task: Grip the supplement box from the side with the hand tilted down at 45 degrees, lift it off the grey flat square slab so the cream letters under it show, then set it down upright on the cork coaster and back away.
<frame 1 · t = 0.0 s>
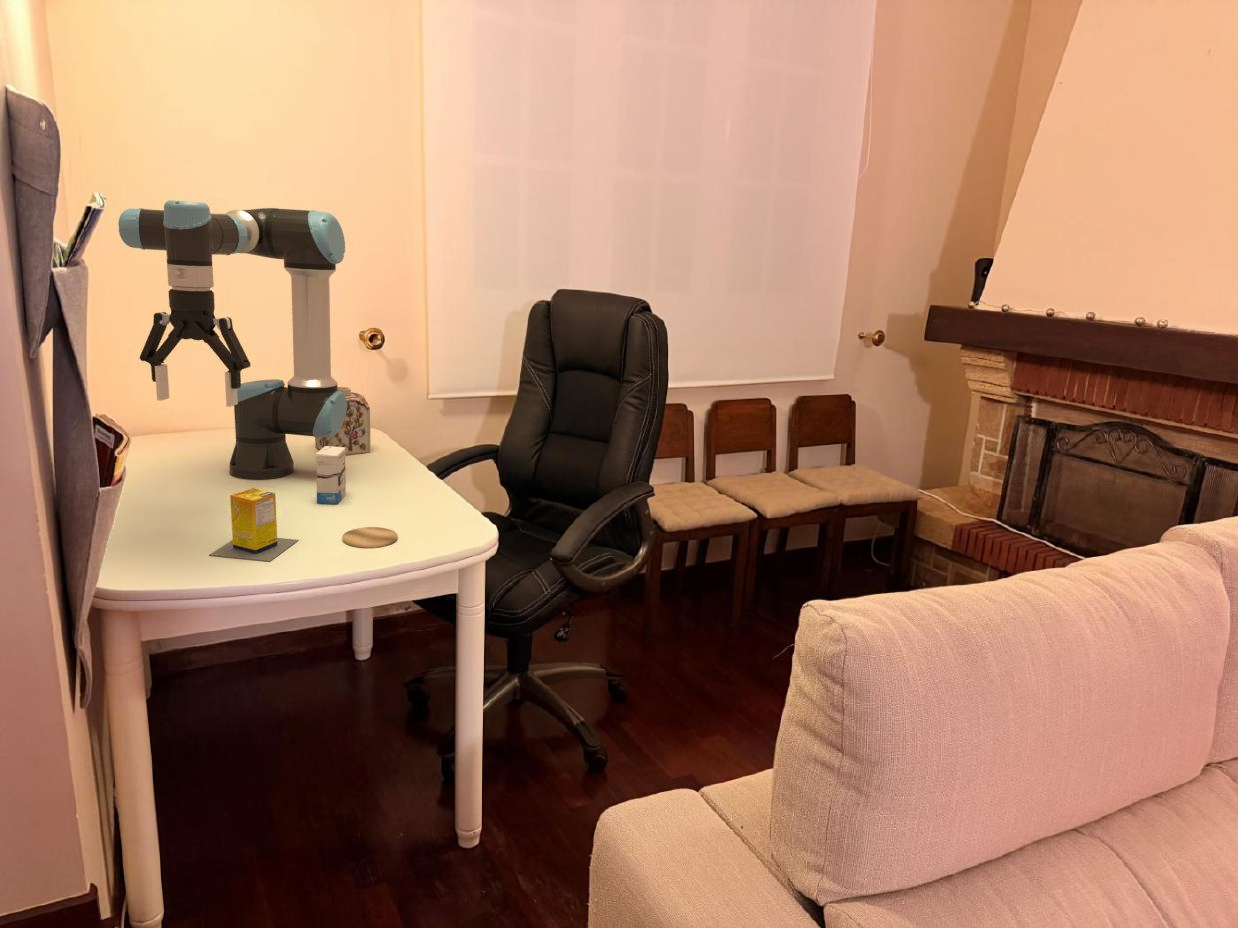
hand: (197, 402, 164), 28 cm above the table, tool pointing down, fingers open, 13 cm apart
supplement box: (255, 547, 169), resting on grey flat square slab
grey flat square slab: (255, 547, 169), on the table
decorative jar: (342, 451, 245), on the table
coaster: (370, 538, 179), on the table
ink box: (331, 499, 202), on the table
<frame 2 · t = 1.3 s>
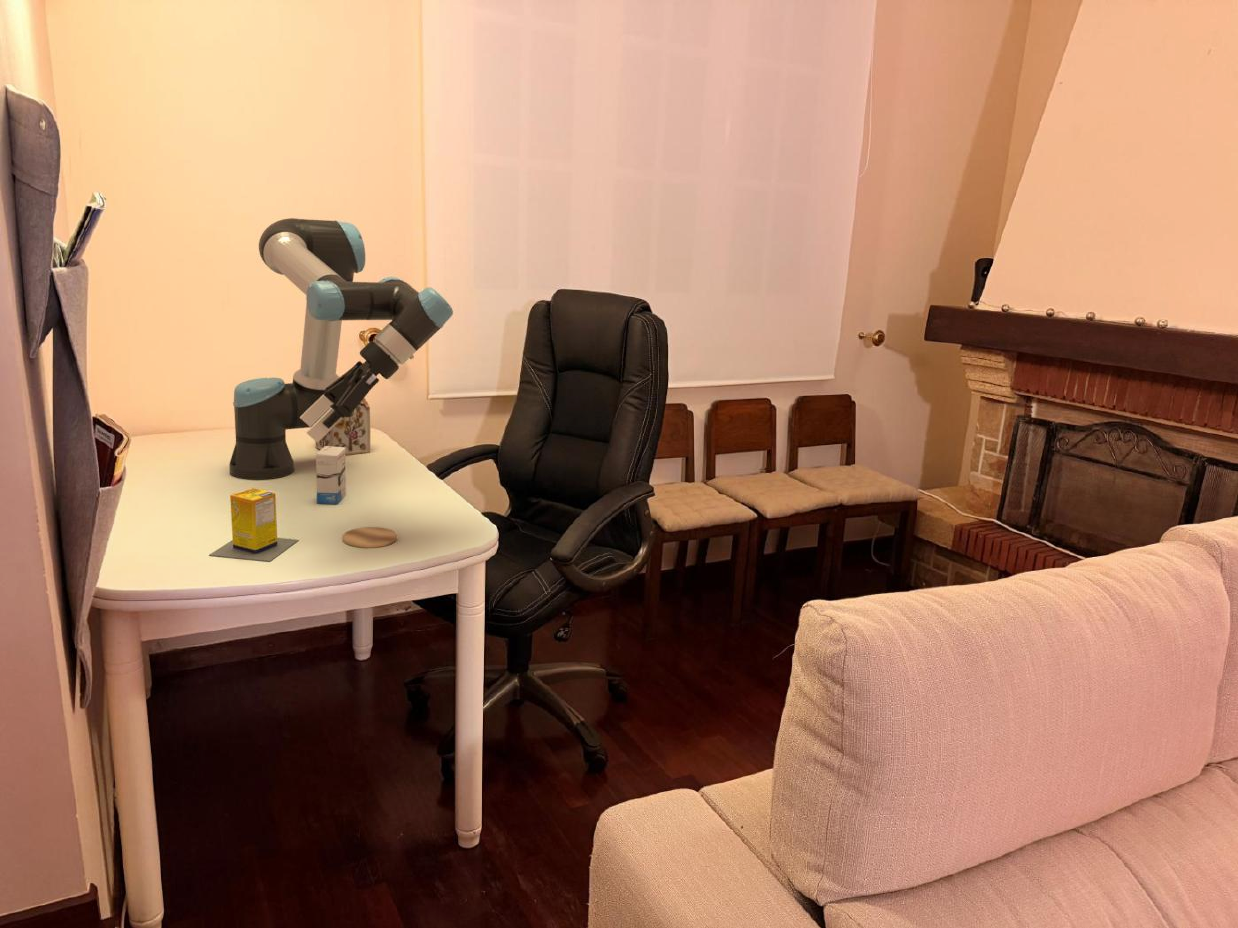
hand: (308, 429, 168), 24 cm above the table, tool tilted 45°, fingers open, 13 cm apart
nothing on the table moved.
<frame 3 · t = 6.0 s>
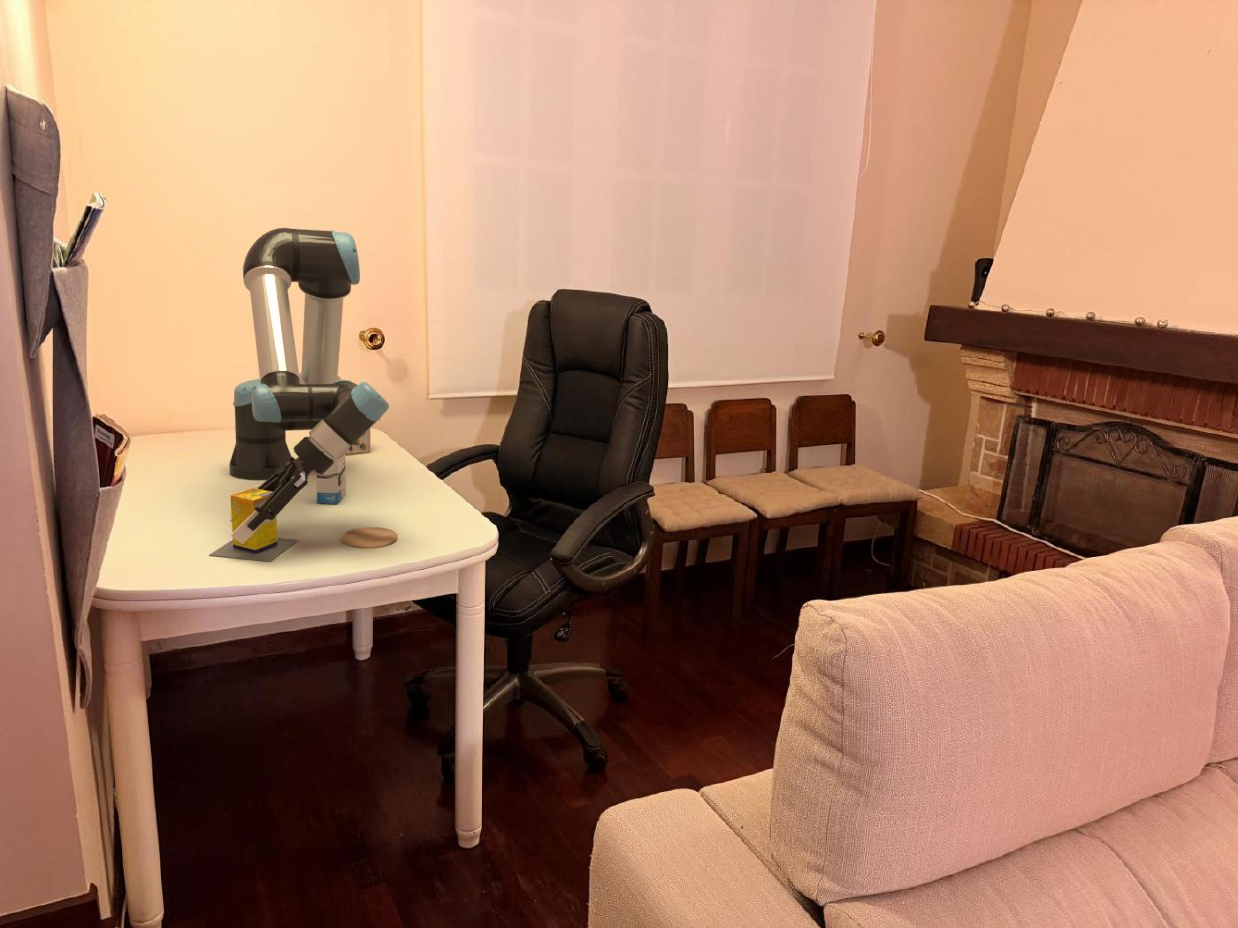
hand: (235, 531, 167), 4 cm above the table, tool tilted 45°, fingers closed on supplement box, 8 cm apart
supplement box: (255, 547, 169), resting on grey flat square slab, touching gripper
everything else where it was.
when the fingers open (5 cm above the table, at t = 12.5 s): supplement box stays where it is, resting on coaster.
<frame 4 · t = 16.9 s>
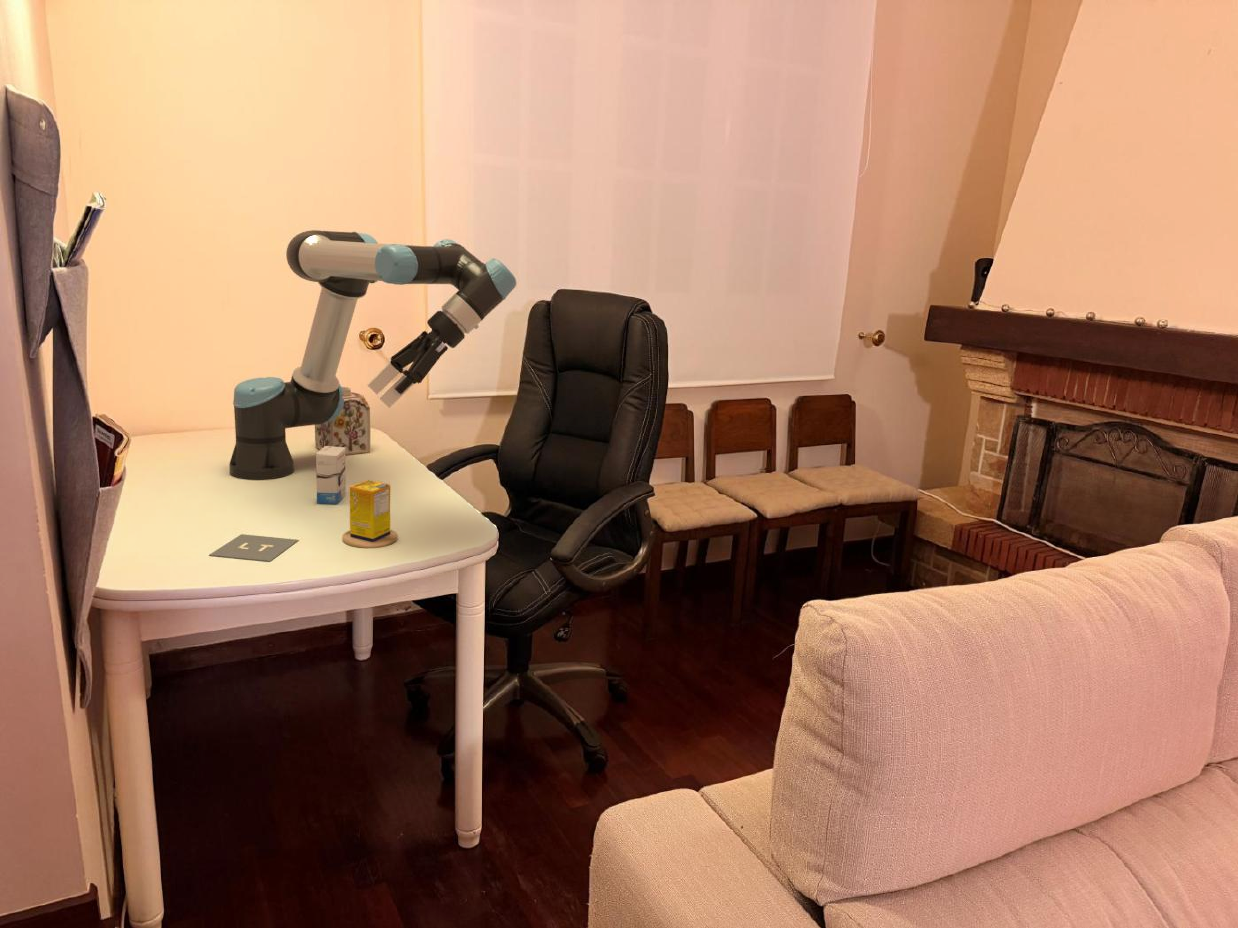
hand: (377, 396, 173), 30 cm above the table, tool tilted 45°, fingers open, 13 cm apart
supplement box: (370, 536, 179), resting on coaster
everything else where it was.
at the end: supplement box inside the target area on the coaster (0.1 cm from its centre), point 0.4 cm above the coaster's base; supplement box tilted 0°; supplement box moved 22.0 cm from its start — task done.
